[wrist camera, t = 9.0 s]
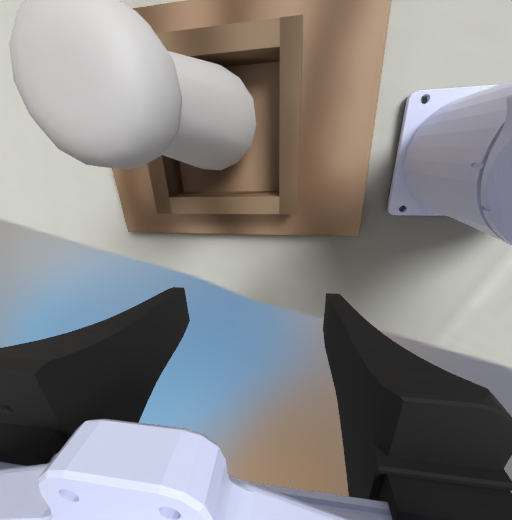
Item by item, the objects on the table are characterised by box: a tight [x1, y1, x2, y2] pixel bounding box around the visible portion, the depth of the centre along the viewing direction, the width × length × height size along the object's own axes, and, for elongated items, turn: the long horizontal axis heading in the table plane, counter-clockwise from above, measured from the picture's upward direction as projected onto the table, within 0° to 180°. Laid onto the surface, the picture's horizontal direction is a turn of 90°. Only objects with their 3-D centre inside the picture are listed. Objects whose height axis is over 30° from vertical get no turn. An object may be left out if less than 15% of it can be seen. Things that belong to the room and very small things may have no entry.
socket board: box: [112, 0, 392, 236], centre depth 17 cm, size 20×15×4 cm
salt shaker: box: [9, 0, 256, 170], centre depth 12 cm, size 6×6×13 cm
